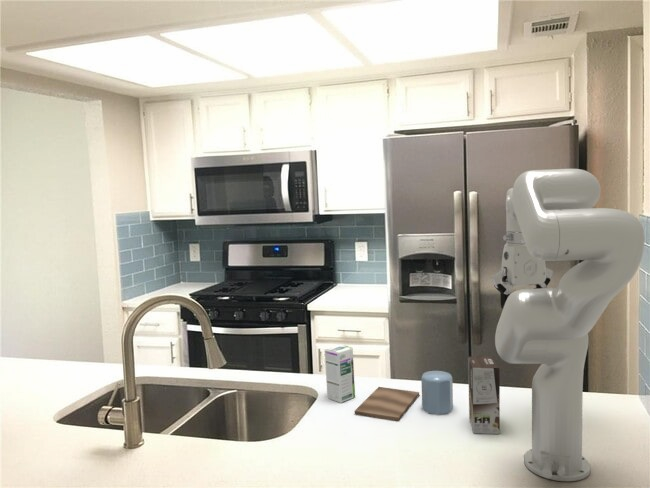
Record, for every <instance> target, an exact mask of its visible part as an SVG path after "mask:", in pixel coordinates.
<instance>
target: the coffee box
mask: <svg viewBox="0 0 650 488" xmlns="http://www.w3.org/2000/svg"><path fill="white" fill-rule="evenodd" d="M467 358H468V359H467V360H468V363H467V364H468V365H467V367H468V372H467V373H468V412H469V413H468V414H469V415H468V416H469V422H470V426H471V430H472V433H473V434H483V435H484V434H488V435H491V434H492V435H499V434H501V432H500V431H501V430H500V427H501V426H500V425H501V424H500V422H501V421H500V417H501V414H500V413H501V412H500V411H501V409H500V399H501V398H500V389H501V387H500V386H501V384H500V382H501V381H500V374H501V373H500V372H501V371H500V370H501V369H500V366H499V364H498V362H497V360H496V359H495V356H493V355H492V356H491V355H490V356H489V355H483V356H468V357H467Z"/></svg>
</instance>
